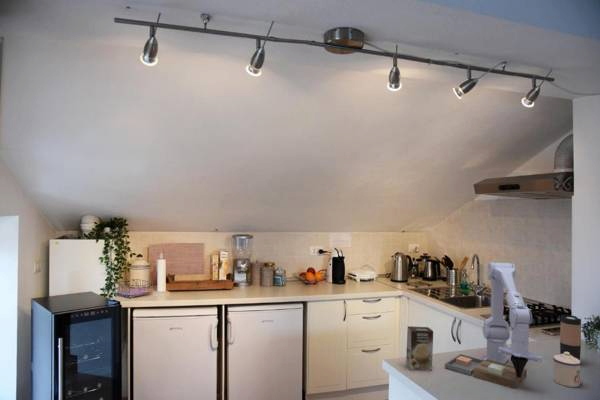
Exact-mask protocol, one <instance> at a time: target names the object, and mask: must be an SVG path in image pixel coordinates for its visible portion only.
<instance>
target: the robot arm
mask: <svg viewBox="0 0 600 400" xmlns="http://www.w3.org/2000/svg"><path fill="white" fill-rule="evenodd" d="M486 274H487V275H486V276H487V280H489V281H490V283H491V284H490V286H491V287H490V288H491V292H490V316H489V317H488V318H486V319H485V320H483V326H482V335H483V337H484V338H485V340H486V356H485V357H483V359H482V360H483V361H485V360H486V359H490V360H494V361H498V362H501V363H505V364H507V362H508V361H509V360H510V361H511V364H512V365H513V366H514V368H515V371H516V377H519V378H521V377H522V373H523V370H524V369H525V367H526V366H527V363H528V362H529V361H533V362H537V363H538V364H541V363H543V356H541V355H537V354H535V353H532V352H529V343H530V342H529V339H530V338H529V337H530V330H529V329H530V325H531V324H532V322H533V315H532V314H533V313H532V311H531V309H530V308H528V306H527V305H526V304H525V301H524V298H523V295H522V294H521V293H520V292H519V291H517V287H516V282H515V276H516V274H517V269H516V265H515V264H514V263H513V262H492V261H490V262H489V263H488V265H487V270H486ZM504 289H505V291H506V293H507V294H506V295H505V300H506V303H507V306H508V308H509V313H508V316H509V322H510V323H508V322H507V321H506V320H505V319H504ZM510 328H511V331H510ZM510 338H511V340H510V341H511V343H510V345H511V346H510V347H511V348H508V346H507V342H508V341H509V339H510ZM507 355H508V356H510V358H509V357H507Z"/></svg>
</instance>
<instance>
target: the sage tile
mask: <svg viewBox="0 0 600 400" xmlns="http://www.w3.org/2000/svg"><path fill="white" fill-rule="evenodd" d="M488 372H490V373H494V374H497V375H501V376H502V375H503V374H504V373H505V372H506V367H504V366H501V365H497V364H493V363H492V364H491V365H489V366H488Z"/></svg>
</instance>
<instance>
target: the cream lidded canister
mask: <svg viewBox="0 0 600 400" xmlns="http://www.w3.org/2000/svg"><path fill="white" fill-rule="evenodd" d="M552 359H553V377H552V378H553V381H554V382H555V383H557V384H558V385H561V386H565V387H569V388H577V387H579V386H581V365H582V362H581V359H580V360H578V359H577V358H574V357H573V356H571V355H570V353H569V352H564V354H560V353H559V354H555V355H554V356H553V357H552Z"/></svg>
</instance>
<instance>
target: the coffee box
mask: <svg viewBox="0 0 600 400" xmlns="http://www.w3.org/2000/svg"><path fill="white" fill-rule="evenodd" d="M433 345H434V330H432V328H430V327H428V326H407V336H406V357H405V359H406V360H405V364H406V366H407V367H408V369H409V370H411V371H432V370H433V351H434V346H433Z"/></svg>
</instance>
